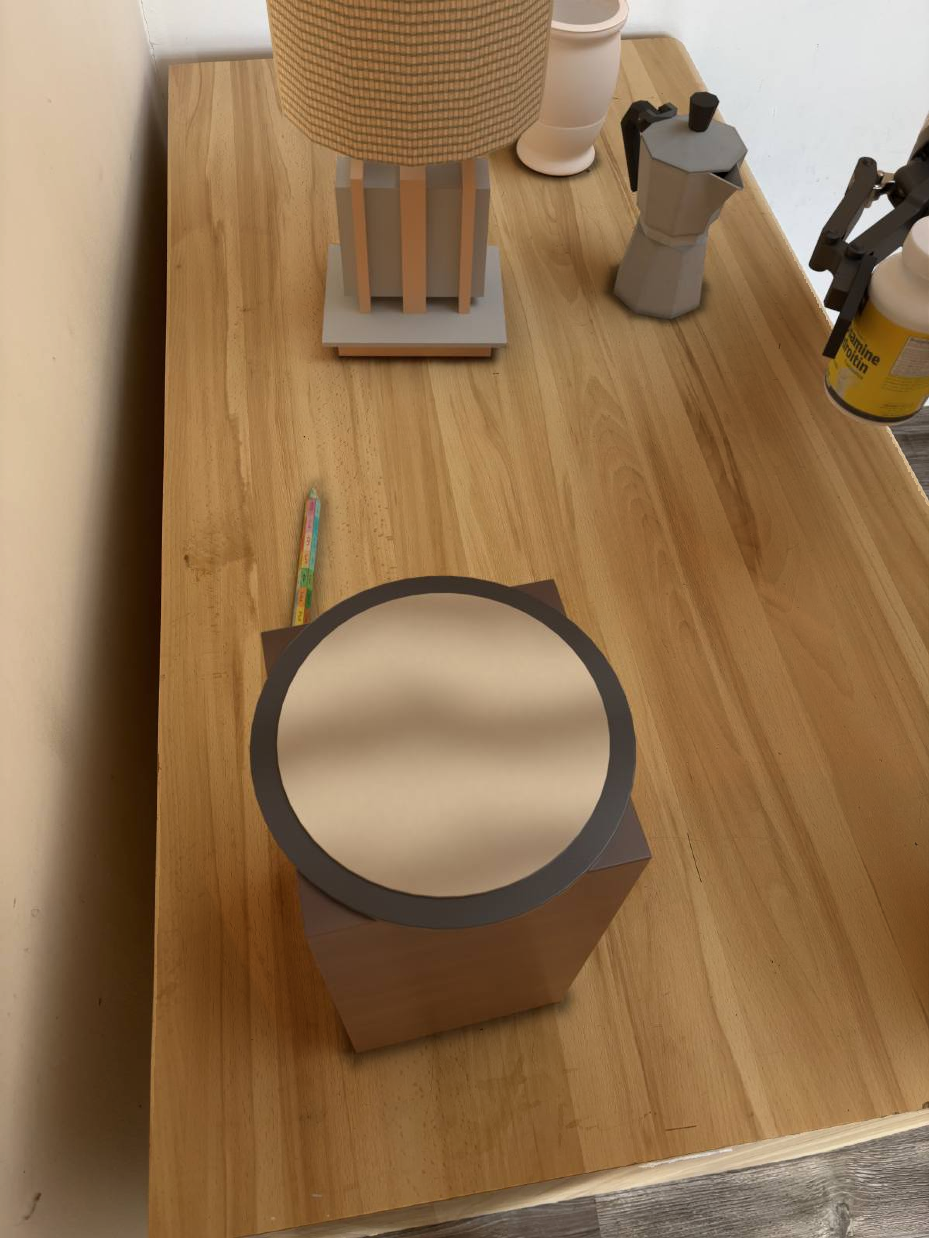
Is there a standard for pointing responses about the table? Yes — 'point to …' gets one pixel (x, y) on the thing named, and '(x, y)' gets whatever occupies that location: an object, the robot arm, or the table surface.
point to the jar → (575, 85)
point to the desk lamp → (412, 157)
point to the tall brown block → (447, 799)
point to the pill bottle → (887, 341)
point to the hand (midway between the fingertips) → (899, 359)
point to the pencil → (307, 559)
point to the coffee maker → (674, 200)
